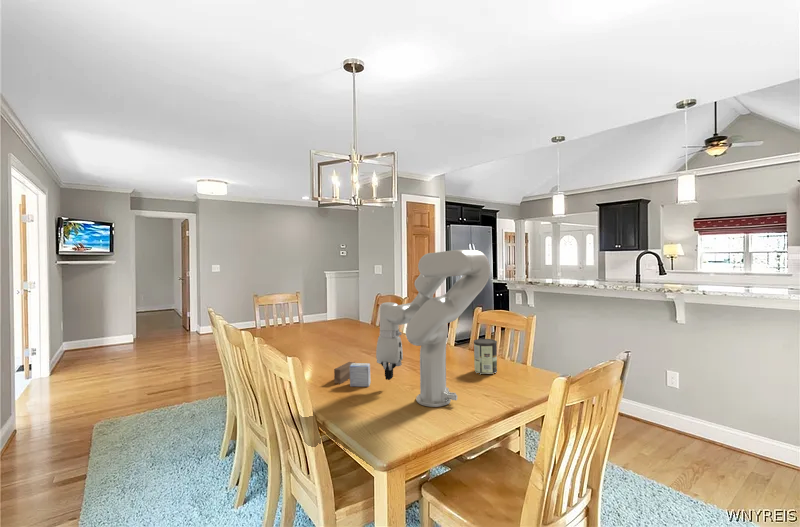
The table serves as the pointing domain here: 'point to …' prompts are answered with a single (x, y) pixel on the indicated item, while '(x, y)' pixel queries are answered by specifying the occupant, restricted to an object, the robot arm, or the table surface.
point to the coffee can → (485, 356)
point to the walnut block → (342, 373)
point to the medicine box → (360, 374)
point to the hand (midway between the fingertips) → (388, 378)
